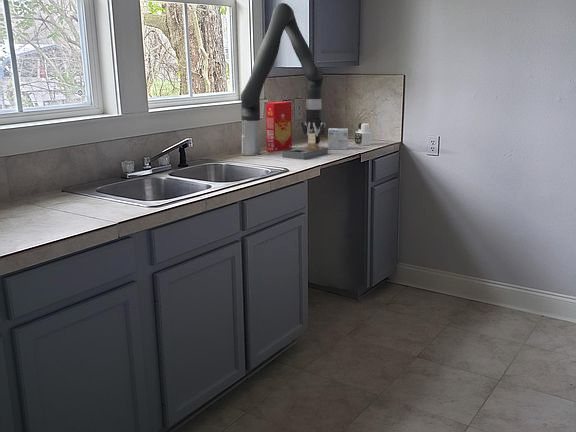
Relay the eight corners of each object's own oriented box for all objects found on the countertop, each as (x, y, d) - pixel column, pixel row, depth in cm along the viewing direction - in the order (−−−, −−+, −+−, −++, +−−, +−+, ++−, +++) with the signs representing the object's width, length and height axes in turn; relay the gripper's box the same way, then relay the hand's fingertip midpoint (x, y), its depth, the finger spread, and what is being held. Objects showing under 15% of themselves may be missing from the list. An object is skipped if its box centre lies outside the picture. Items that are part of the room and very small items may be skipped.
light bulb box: (347, 147, 318) (348, 128, 316) (347, 149, 312) (348, 129, 309) (328, 147, 319) (328, 127, 317) (327, 149, 313) (328, 129, 310)
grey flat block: (303, 161, 276) (303, 152, 275) (282, 159, 283) (282, 150, 281) (327, 155, 293) (328, 146, 292) (307, 153, 300) (307, 145, 299)
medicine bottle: (354, 144, 332) (355, 122, 329) (365, 143, 335) (366, 122, 332) (361, 145, 326) (361, 124, 323) (372, 145, 329) (372, 123, 325)
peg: (314, 152, 290) (314, 134, 288) (308, 151, 293) (308, 133, 290) (319, 151, 294) (319, 133, 291) (312, 150, 296) (312, 132, 293)
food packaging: (274, 152, 303) (274, 103, 296) (266, 151, 306) (265, 103, 300) (291, 149, 314) (291, 101, 308) (283, 148, 317) (283, 101, 311)
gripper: (330, 108, 287) (329, 143, 291) (305, 107, 294) (305, 141, 299) (322, 109, 281) (321, 145, 285) (297, 108, 288) (297, 143, 293)
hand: (313, 143), depth 292 cm, fingers closed on peg, 3 cm apart
